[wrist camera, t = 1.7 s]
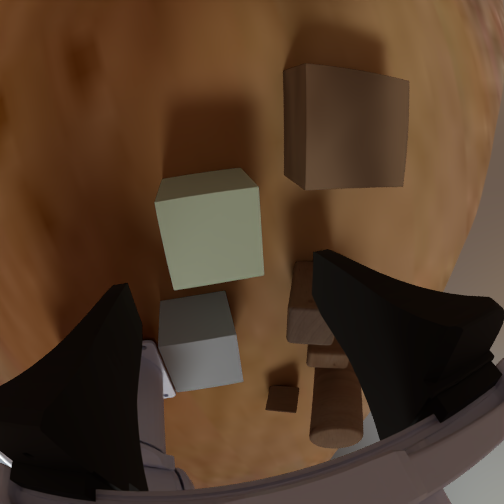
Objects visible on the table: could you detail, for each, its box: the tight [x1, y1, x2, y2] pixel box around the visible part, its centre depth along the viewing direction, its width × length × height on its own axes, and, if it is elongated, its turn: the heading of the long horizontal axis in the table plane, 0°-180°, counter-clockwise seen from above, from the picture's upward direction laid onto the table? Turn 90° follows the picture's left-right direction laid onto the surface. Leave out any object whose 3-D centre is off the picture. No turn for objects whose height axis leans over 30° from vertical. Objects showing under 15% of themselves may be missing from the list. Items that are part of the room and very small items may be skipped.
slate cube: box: [158, 291, 243, 392], centre depth 21 cm, size 5×5×5 cm
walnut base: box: [283, 63, 409, 190], centre depth 17 cm, size 7×7×4 cm
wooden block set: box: [266, 261, 363, 448], centre depth 23 cm, size 18×9×10 cm, turn 1°
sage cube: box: [155, 168, 264, 290], centre depth 17 cm, size 5×5×5 cm
